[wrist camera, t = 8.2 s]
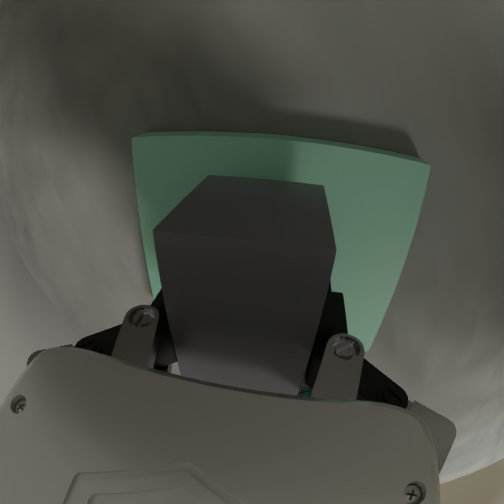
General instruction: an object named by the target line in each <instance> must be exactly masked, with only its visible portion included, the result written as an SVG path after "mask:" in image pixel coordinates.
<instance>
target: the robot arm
mask: <svg viewBox="0 0 504 504" xmlns="http://www.w3.org/2000/svg"><path fill="white" fill-rule="evenodd" d="M175 362H178V361H177V357H176V353H175V349H174V345H173V340H172V336H171V332H170V327H169V322H168V318H167V313H166V308H165V303H164V298H163V293H162V288H161V290H160V291H159V293H158V294H157V296H156V298H155V299H154V301H153V302H152V304H151V305H139V306H135V307H133V308H132V309H130V310H129V311H128V312H127V313H126V315H125V317H124V320H123V323H122V324H121V325H118V326H115V327H112V328H110V329H107V330H104V331H101V332H98V333H95V334H93V335H90V336H87V337H85V338H82V339H81V340H80V341H78V342H77V344H76V345H75V346H74V347H73V345H72V344H70V345H65V346H60V347H55V348H49V349H44V350H39V351H36V352H34V353H33V354H31V355H30V357H29V358H28V361H27V367H26V369H25V370H24V371H23V373H22V374H21V375H20V377H19V378H18V380H17V381H16V383H15V384H14V386H13V387H12V389H11V390H10V392H9V393H8V395H7V397H6V399H5V400H4V402H3V404H2V405H1V407H0V504H440V482H439V473H440V471H441V469H442V467H443V465H444V463H445V460H446V458H447V456H448V454H449V451H450V449H451V447H452V444H453V442H454V439H455V437H456V427H455V425H454V424H453V422H452V421H450V420H449V419H447V418H446V417H444V416H442V415H440V414H438V413H436V412H435V411H433V410H431V409H429V408H427V407H426V406H424V405H422V404H420V403H419V402H417V401H414V402H411V401H409V400H408V396H407V394H406V392H405V391H404V390H403V389H402V388H401V387H400V386H398V385H397V384H396V383H395V382H393V381H392V380H391V379H390V378H388V377H387V376H386V375H384V374H383V373H382V372H381V371H379V370H378V369H377V368H376V367H374V366H373V365H372V364H371V363H369V362H368V361H367V360H366V359H364V346H363V344H362V342H361V341H360V340H359V339H358V338H356V337H355V336H352V335H350V334H348V329H347V320H346V312H345V304H344V296H343V293H341V292H332V290H331V280H330V283H329V287H328V291H327V295H326V299H325V303H324V307H323V311H322V315H321V318H320V322H319V326H318V330H317V333H316V337H315V340H314V344H313V347H312V351H311V354H310V357H309V361H308V364H307V367H306V371H305V374H304V377H303V380H302V382H305V383H306V384H307V385H308V386H309V387H310V388H311V390H310V393H309V396H300V395H290V394H281V393H273V392H266V391H259V390H252V389H246V388H240V387H234V386H228V385H223V384H217V383H212V382H207V381H202V380H198V379H193V378H189V377H184V376H180V375H176V374H172V373H171V368H172V363H175Z"/></svg>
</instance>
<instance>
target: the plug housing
mask: <svg viewBox="0 0 504 504" xmlns="http://www.w3.org/2000/svg"><path fill="white" fill-rule="evenodd" d="M152 231H153V238H154V245H155V251H156V258H157V264H158V270H159V276H160V282H161V287H162V293H163V298H164V303H165V308H166V313H167V318H168V322H169V327H170V332H171V336H172V340H173V345H174V349H175V353H176V357H177V361H178V365H179V369H180V373H181V376H184V377H189V378H193V379H198V380H202V381H207V382H212V383H217V384H223V385H228V386H234V387H240V388H246V389H252V390H259V391H266V392H273V393H281V394H290V395H298V392H299V389H300V386H301V383H302V380H303V377H304V374H305V371H306V367H307V364H308V361H309V357H310V354H311V351H312V347H313V344H314V340H315V337H316V333H317V330H318V326H319V322H320V318H321V315H322V311H323V307H324V303H325V299H326V295H327V291H328V287H329V283H330V278H331V274H332V270H333V265H334V261H335V256H336V252H337V250H336V244H335V239H334V233H333V228H332V223H331V217H330V212H329V208H328V203H327V198H326V193H325V189H324V185H317V184H308V183H300V182H291V181H281V180H271V179H260V178H248V177H235V176H220V175H208V176H207V177H206V178H205V179H204V180H203V181H202V182H201V183H199V184H198V185H197V186H196V187H195V188H194V189H193V190H192V191H191V192H190V193H189V194H188V195H187V196H186V197H185V198H184V199H183V200H182V201H181V202H180V203H179V204H178V205H177V206H176V207H175V208H174V209H173V210H172V211H171V212H170V213H169V214H168V215H167V216H166V217H165V218H164V219H163V220H162V221H161V222H160V223H159V224H158V225H157V226H156V227H155V228H154V229H153V230H152Z"/></svg>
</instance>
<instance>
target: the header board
mask: <svg viewBox="0 0 504 504" xmlns="http://www.w3.org/2000/svg"><path fill="white" fill-rule="evenodd" d="M131 142H132V156H133V168H134V178H135V187H136V196H137V204H138V212H139V219H140V226H141V233H142V239H143V245H144V251H145V257H146V263H147V268H148V273H149V279H150V284H151V288H152V293H153V298H154V299H155V298H156V296H157V294H158V293H159V291H160V290H161V288H162V287H161V282H160V276H159V270H158V264H157V258H156V251H155V245H154V238H153V231H152V230H153V229H154V228H155V227H156V226H157V225H158V224H159V223H160V222H161V221H162V220H163V219H164V218H165V217H166V216H167V215H168V214H169V213H170V212H171V211H172V210H173V209H174V208H175V207H176V206H177V205H178V204H179V203H180V202H181V201H182V200H183V199H184V198H185V197H186V196H187V195H188V194H189V193H190V192H191V191H192V190H193V189H194V188H195V187H196V186H197V185H198V184H199V183H201V182H202V181H203V180H204V179H205V178H206V177H207V176H208V175H220V176H235V177H248V178H260V179H271V180H281V181H291V182H300V183H308V184H317V185H324V189H325V193H326V198H327V203H328V208H329V212H330V217H331V223H332V228H333V233H334V239H335V244H336V250H337V252H336V256H335V261H334V265H333V270H332V274H331V278H330V280H331V290H332V292H341V293H343V296H344V304H345V312H346V320H347V329H348V334H350V335H352V336H355V337H356V338H358V339H359V340H360V341H361V342H362V344H363V346H364V351H369V349H370V347H371V345H372V343H373V340H374V338H375V336H376V334H377V332H378V329H379V327H380V325H381V323H382V320H383V318H384V316H385V313H386V311H387V308H388V306H389V304H390V301H391V299H392V296H393V294H394V291H395V288H396V286H397V283H398V280H399V278H400V275H401V272H402V269H403V266H404V264H405V261H406V258H407V255H408V252H409V249H410V246H411V242H412V239H413V236H414V233H415V229H416V226H417V222H418V219H419V215H420V211H421V208H422V204H423V200H424V196H425V192H426V187H427V183H428V179H429V174H430V169H431V165H430V164H429V163H427V162H425V161H424V160H422V159H421V158H418V157H414V156H410V155H406V154H401V153H397V152H392V151H387V150H382V149H377V148H372V147H366V146H361V145H355V144H349V143H343V142H336V141H329V140H322V139H314V138H305V137H296V136H286V135H275V134H262V133H245V132H219V131H171V132H146V133H143V134H140V135H137V136H134V137H131Z"/></svg>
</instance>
